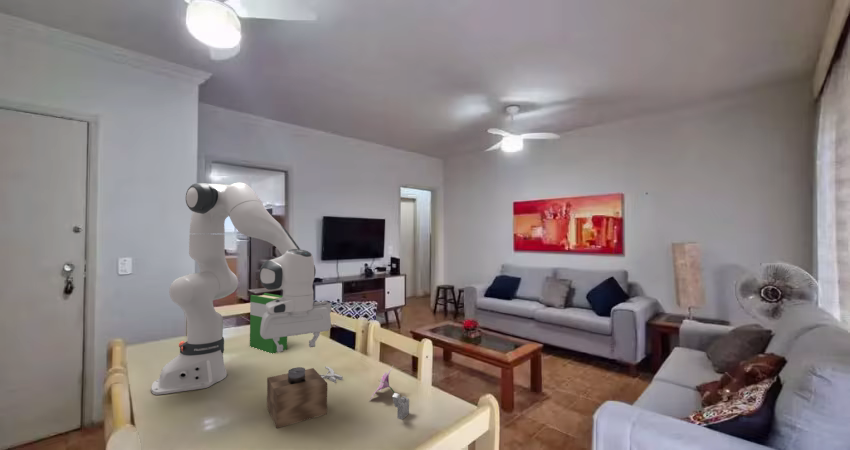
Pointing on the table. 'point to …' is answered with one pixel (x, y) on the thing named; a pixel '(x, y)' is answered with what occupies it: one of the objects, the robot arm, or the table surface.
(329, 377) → the grey branched figurine
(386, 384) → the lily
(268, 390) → the block
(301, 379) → the pin
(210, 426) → the table surface
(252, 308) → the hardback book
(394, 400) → the lighter
